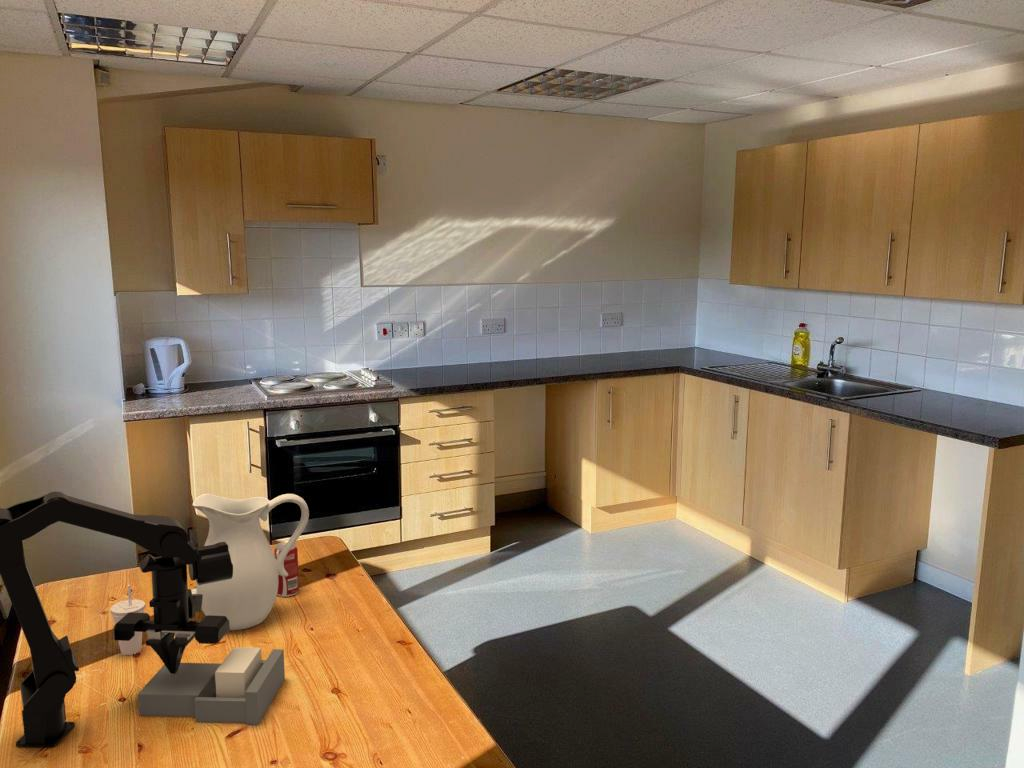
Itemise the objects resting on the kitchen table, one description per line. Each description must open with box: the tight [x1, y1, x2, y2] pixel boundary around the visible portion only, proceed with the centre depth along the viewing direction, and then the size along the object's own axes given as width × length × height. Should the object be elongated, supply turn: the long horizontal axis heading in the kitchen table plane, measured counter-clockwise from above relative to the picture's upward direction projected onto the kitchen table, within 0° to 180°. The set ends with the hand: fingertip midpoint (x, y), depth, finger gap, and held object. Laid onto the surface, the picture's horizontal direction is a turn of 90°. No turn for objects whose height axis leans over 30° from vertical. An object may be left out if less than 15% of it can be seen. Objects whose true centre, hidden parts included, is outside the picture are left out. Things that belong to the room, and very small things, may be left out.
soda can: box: [273, 540, 300, 598], centre depth 191 cm, size 5×5×12 cm
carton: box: [215, 646, 263, 698], centre depth 146 cm, size 9×8×5 cm
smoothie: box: [110, 584, 147, 656], centre depth 163 cm, size 6×6×14 cm
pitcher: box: [192, 493, 310, 631], centre depth 177 cm, size 24×17×28 cm
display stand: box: [137, 648, 286, 726], centre depth 146 cm, size 15×22×6 cm
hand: (174, 672), depth 146 cm, fingers closed
